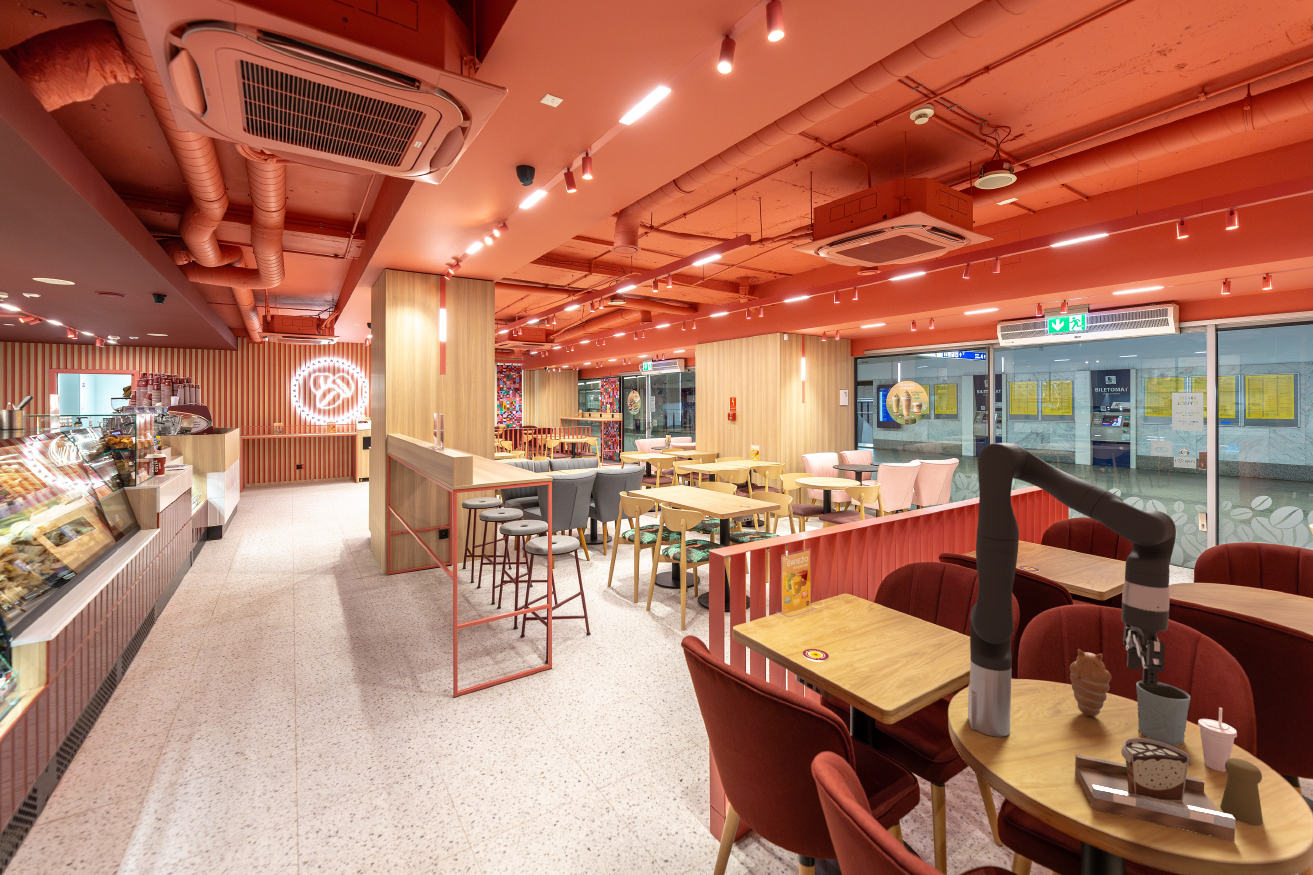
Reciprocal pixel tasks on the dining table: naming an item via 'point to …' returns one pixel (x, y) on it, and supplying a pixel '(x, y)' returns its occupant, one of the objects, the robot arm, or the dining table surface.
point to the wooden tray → (1151, 800)
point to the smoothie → (1216, 742)
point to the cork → (1242, 792)
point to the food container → (1155, 769)
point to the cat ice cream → (1089, 682)
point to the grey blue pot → (1162, 712)
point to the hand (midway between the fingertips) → (1141, 677)
